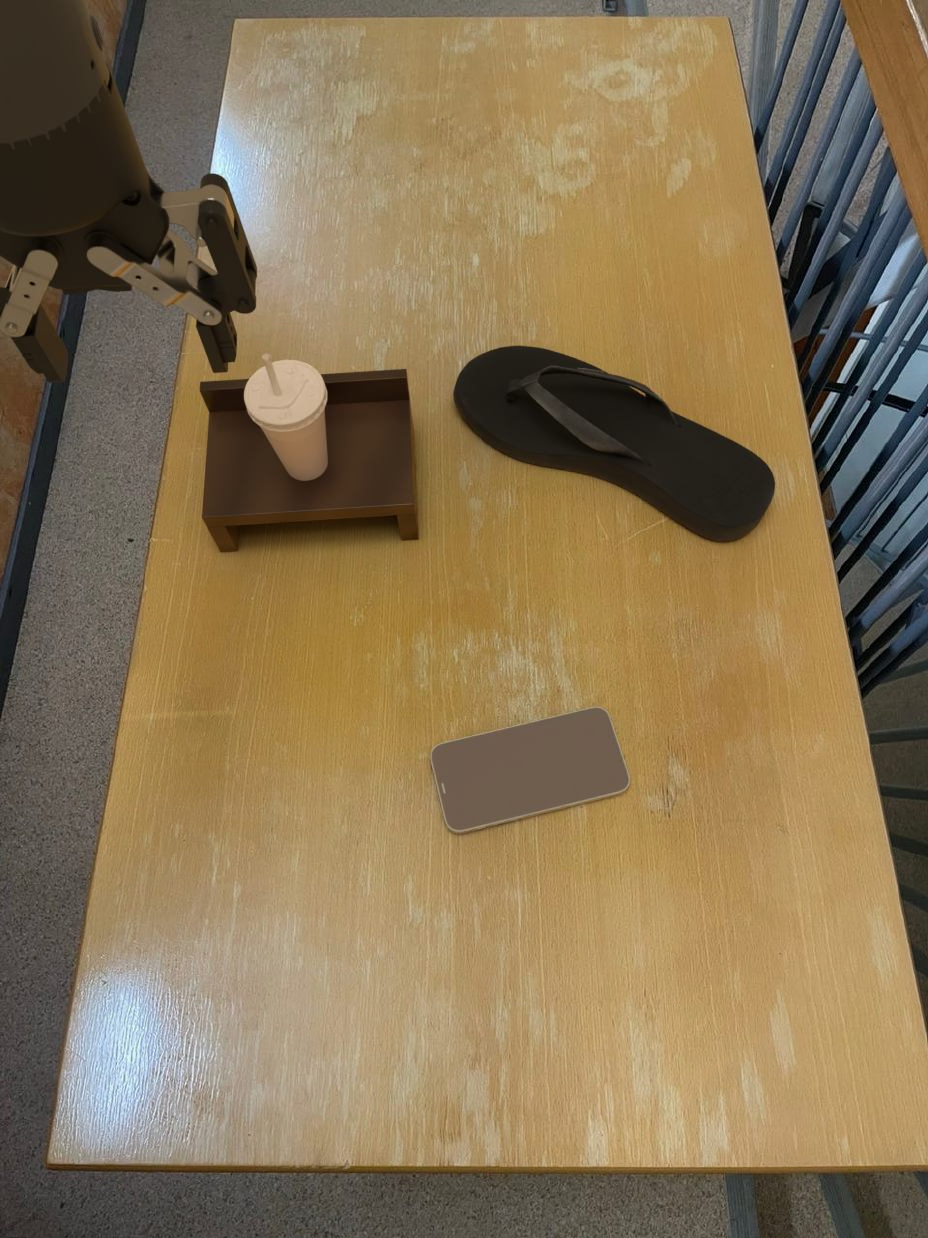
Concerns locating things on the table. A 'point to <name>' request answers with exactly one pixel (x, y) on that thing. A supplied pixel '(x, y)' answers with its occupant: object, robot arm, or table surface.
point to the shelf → (356, 447)
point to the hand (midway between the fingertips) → (141, 365)
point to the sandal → (613, 437)
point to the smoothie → (291, 414)
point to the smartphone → (528, 769)
